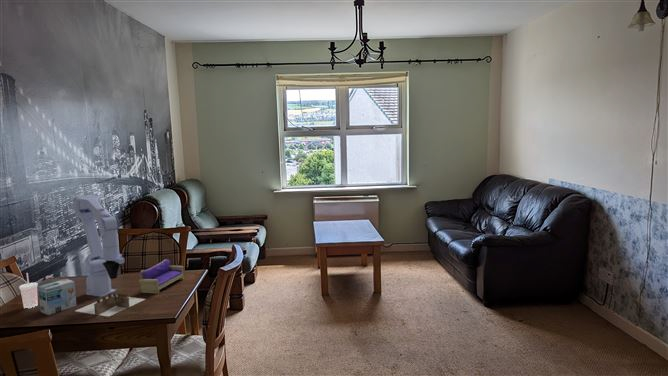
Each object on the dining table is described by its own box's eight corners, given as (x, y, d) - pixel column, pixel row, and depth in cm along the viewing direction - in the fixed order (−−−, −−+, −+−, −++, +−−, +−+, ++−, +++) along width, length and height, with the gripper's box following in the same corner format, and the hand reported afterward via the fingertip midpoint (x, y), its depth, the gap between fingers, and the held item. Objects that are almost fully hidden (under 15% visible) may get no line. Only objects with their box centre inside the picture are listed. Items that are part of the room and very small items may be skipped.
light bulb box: (48, 316, 160) (45, 289, 158) (40, 312, 163) (37, 286, 162) (77, 306, 169) (75, 280, 167) (69, 303, 172) (66, 278, 171)
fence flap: (115, 304, 168) (114, 291, 167) (118, 304, 168) (117, 291, 167) (95, 314, 158) (93, 300, 158) (97, 314, 158) (96, 300, 157)
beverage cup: (18, 310, 167) (14, 276, 165) (26, 304, 173) (22, 271, 171) (35, 308, 168) (31, 274, 166) (42, 302, 174) (39, 270, 172)
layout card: (74, 312, 163) (74, 310, 163) (113, 295, 180) (113, 294, 180) (108, 317, 157) (108, 316, 157) (145, 300, 173) (145, 298, 173)
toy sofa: (157, 295, 179) (155, 272, 178) (139, 294, 181) (137, 271, 180) (185, 279, 199) (183, 258, 198) (168, 278, 201) (167, 258, 200)
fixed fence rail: (117, 306, 166) (115, 293, 166) (119, 305, 167) (118, 292, 167) (127, 308, 164) (125, 294, 164) (129, 306, 166) (128, 293, 165)
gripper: (130, 245, 170) (133, 278, 172) (110, 242, 178) (112, 273, 179) (113, 249, 164) (116, 283, 166) (93, 245, 172) (96, 277, 173)
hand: (113, 278), depth 172 cm, fingers closed
